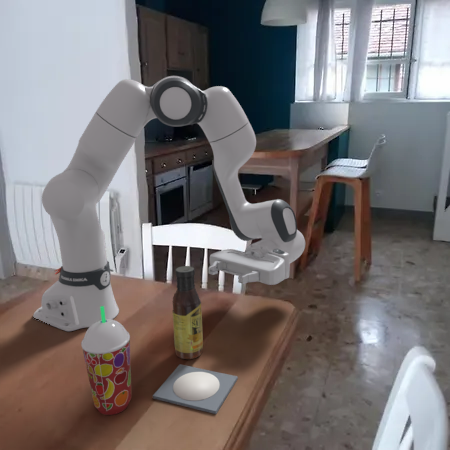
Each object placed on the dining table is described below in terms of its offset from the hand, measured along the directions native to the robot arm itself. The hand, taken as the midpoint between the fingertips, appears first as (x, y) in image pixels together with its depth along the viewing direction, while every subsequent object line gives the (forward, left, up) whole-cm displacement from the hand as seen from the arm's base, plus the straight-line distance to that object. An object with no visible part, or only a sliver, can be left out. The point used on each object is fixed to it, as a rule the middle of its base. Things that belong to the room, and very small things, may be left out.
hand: (225, 275), depth 104 cm
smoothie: (-10, -32, -15) cm, 37 cm away
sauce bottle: (-4, -11, -15) cm, 19 cm away
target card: (+3, -22, -14) cm, 27 cm away
